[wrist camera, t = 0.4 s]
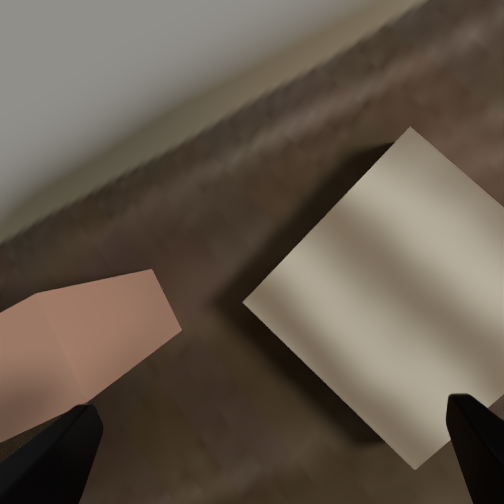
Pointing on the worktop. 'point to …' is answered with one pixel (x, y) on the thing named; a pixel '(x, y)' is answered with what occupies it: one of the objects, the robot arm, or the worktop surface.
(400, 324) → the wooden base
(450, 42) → the worktop surface
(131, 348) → the terracotta block
